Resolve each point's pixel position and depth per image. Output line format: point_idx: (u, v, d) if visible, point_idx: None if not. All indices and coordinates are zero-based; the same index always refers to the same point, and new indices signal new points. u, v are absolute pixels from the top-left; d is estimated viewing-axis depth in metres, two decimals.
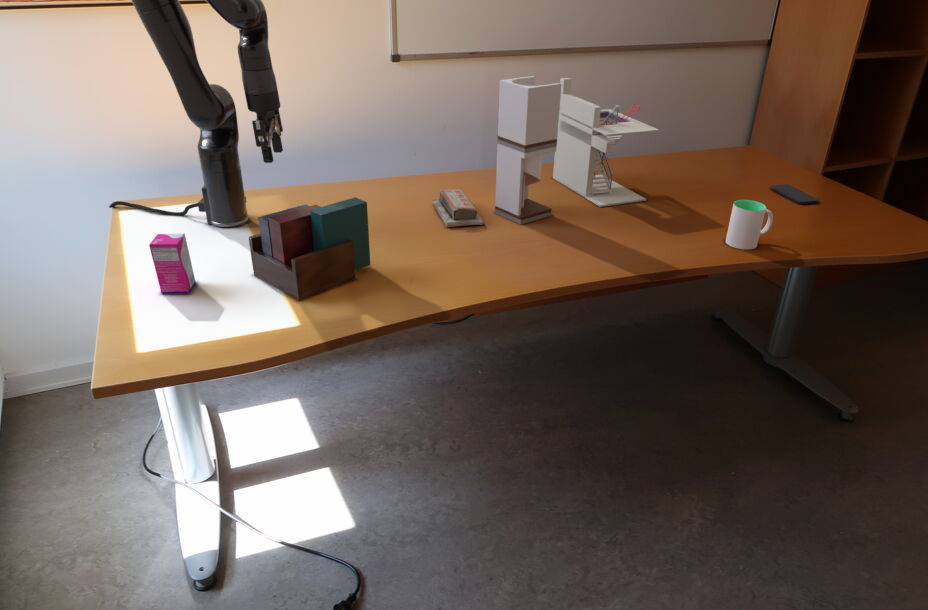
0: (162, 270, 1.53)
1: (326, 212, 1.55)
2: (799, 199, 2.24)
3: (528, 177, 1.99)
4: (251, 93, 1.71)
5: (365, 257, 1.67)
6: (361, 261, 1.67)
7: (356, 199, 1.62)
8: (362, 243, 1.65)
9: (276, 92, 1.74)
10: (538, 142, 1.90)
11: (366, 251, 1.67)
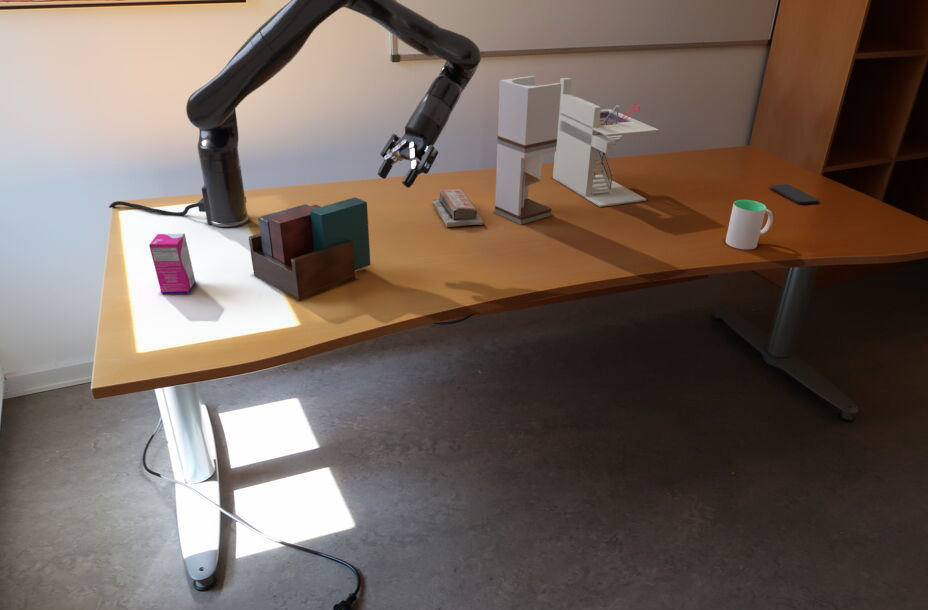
0: (162, 270, 1.53)
1: (326, 212, 1.55)
2: (799, 199, 2.24)
3: (528, 177, 1.99)
4: (435, 121, 1.66)
5: (365, 257, 1.67)
6: (361, 261, 1.67)
7: (356, 199, 1.62)
8: (362, 243, 1.65)
9: None
10: (538, 142, 1.90)
11: (366, 251, 1.67)
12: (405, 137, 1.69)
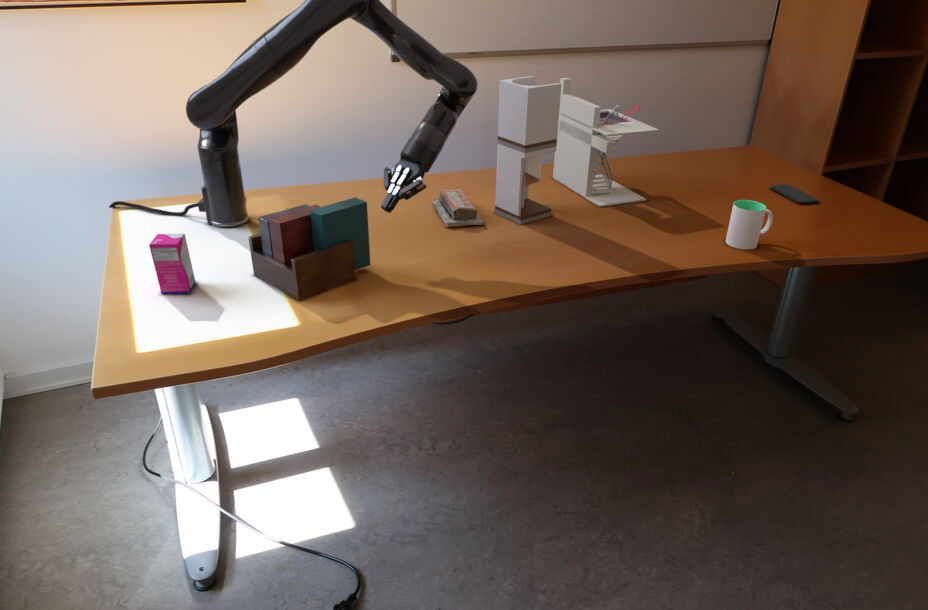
0: (162, 270, 1.53)
1: (326, 212, 1.55)
2: (799, 199, 2.24)
3: (528, 177, 1.99)
4: (431, 148, 1.67)
5: (365, 257, 1.67)
6: (361, 261, 1.67)
7: (356, 199, 1.62)
8: (362, 243, 1.65)
9: None
10: (538, 142, 1.90)
11: (366, 251, 1.67)
12: (399, 161, 1.71)
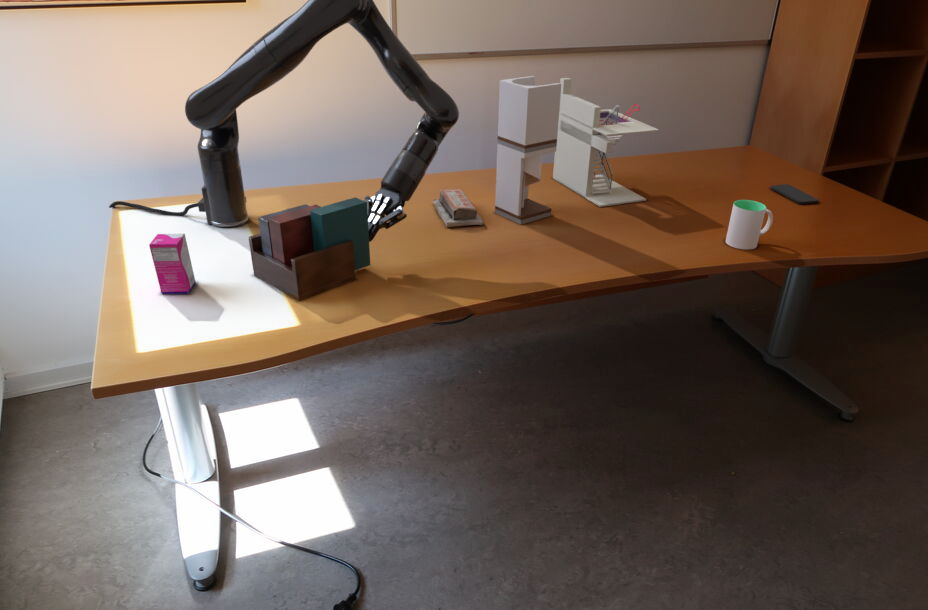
0: (162, 270, 1.53)
1: (326, 212, 1.55)
2: (799, 199, 2.24)
3: (528, 177, 1.99)
4: (411, 177, 1.66)
5: (365, 257, 1.67)
6: (361, 261, 1.67)
7: (356, 199, 1.62)
8: (362, 243, 1.65)
9: None
10: (538, 142, 1.90)
11: (366, 251, 1.67)
12: (380, 190, 1.70)
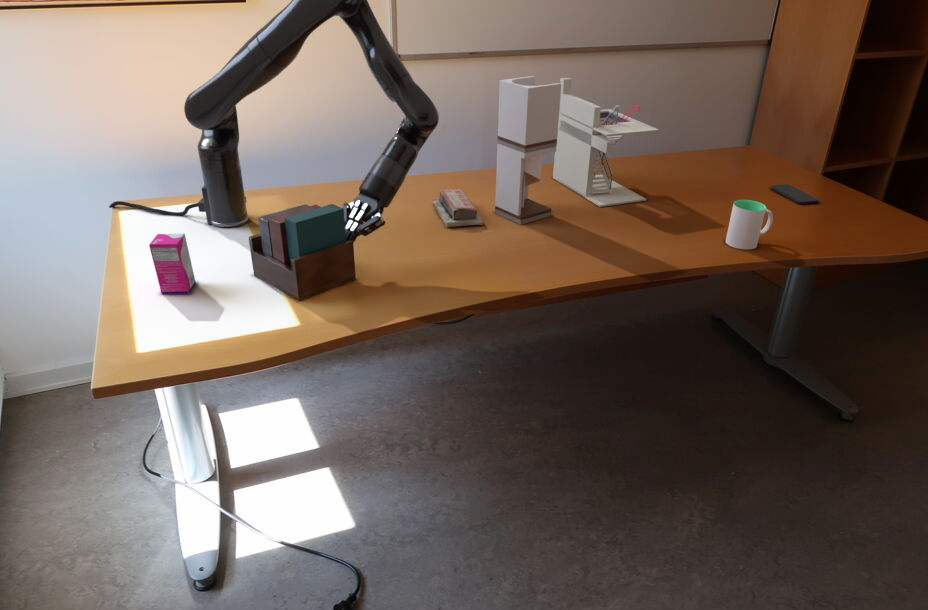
0: (162, 270, 1.53)
1: (301, 219, 1.51)
2: (799, 199, 2.24)
3: (528, 177, 1.99)
4: (390, 183, 1.62)
5: None
6: None
7: (333, 206, 1.58)
8: None
9: None
10: (538, 142, 1.90)
11: None
12: (358, 196, 1.66)
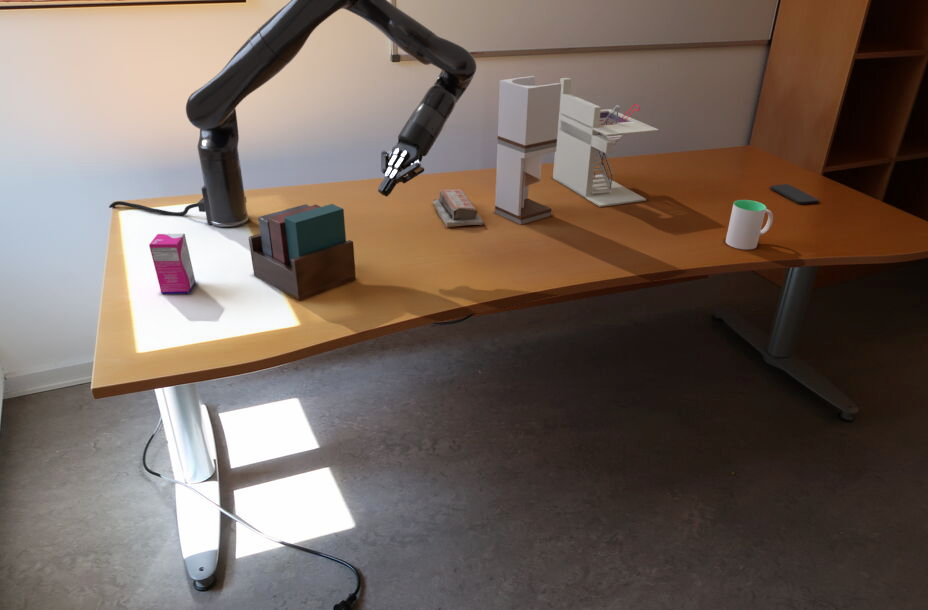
0: (162, 270, 1.53)
1: (301, 219, 1.51)
2: (799, 199, 2.24)
3: (528, 177, 1.99)
4: (429, 131, 1.65)
5: None
6: None
7: (332, 206, 1.58)
8: None
9: None
10: (538, 142, 1.90)
11: None
12: (397, 144, 1.68)
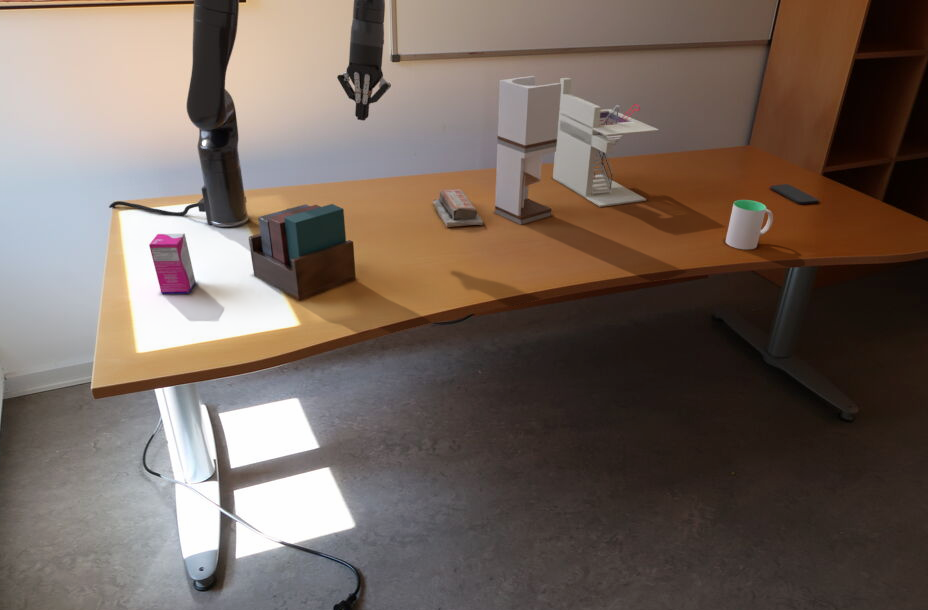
0: (162, 270, 1.53)
1: (301, 219, 1.51)
2: (799, 199, 2.24)
3: (528, 177, 1.99)
4: (380, 46, 1.70)
5: None
6: None
7: (332, 206, 1.58)
8: None
9: None
10: (538, 142, 1.90)
11: None
12: (350, 66, 1.73)
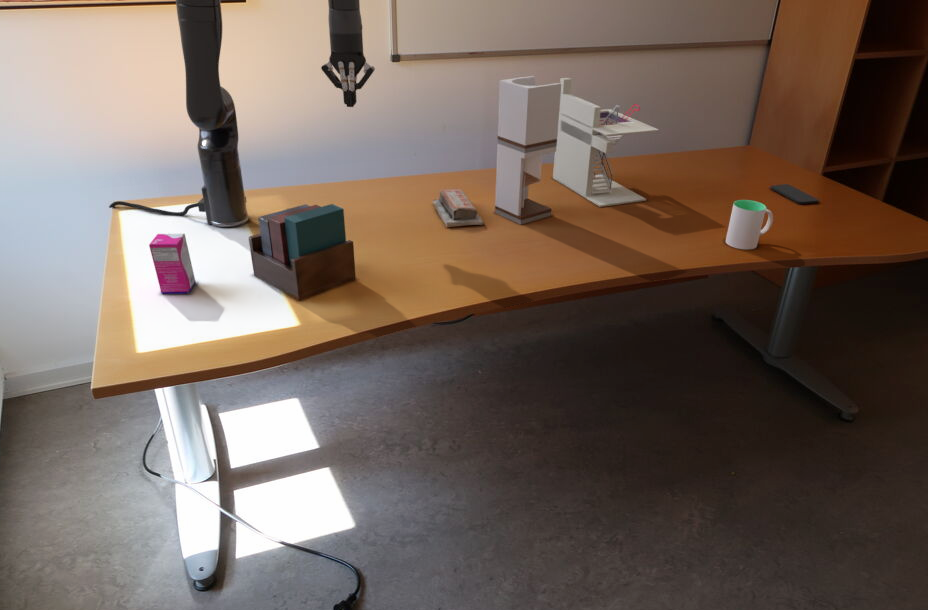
0: (162, 270, 1.53)
1: (301, 219, 1.51)
2: (799, 199, 2.24)
3: (528, 177, 1.99)
4: (360, 32, 1.72)
5: None
6: None
7: (332, 206, 1.58)
8: None
9: None
10: (538, 142, 1.90)
11: None
12: (333, 56, 1.75)
